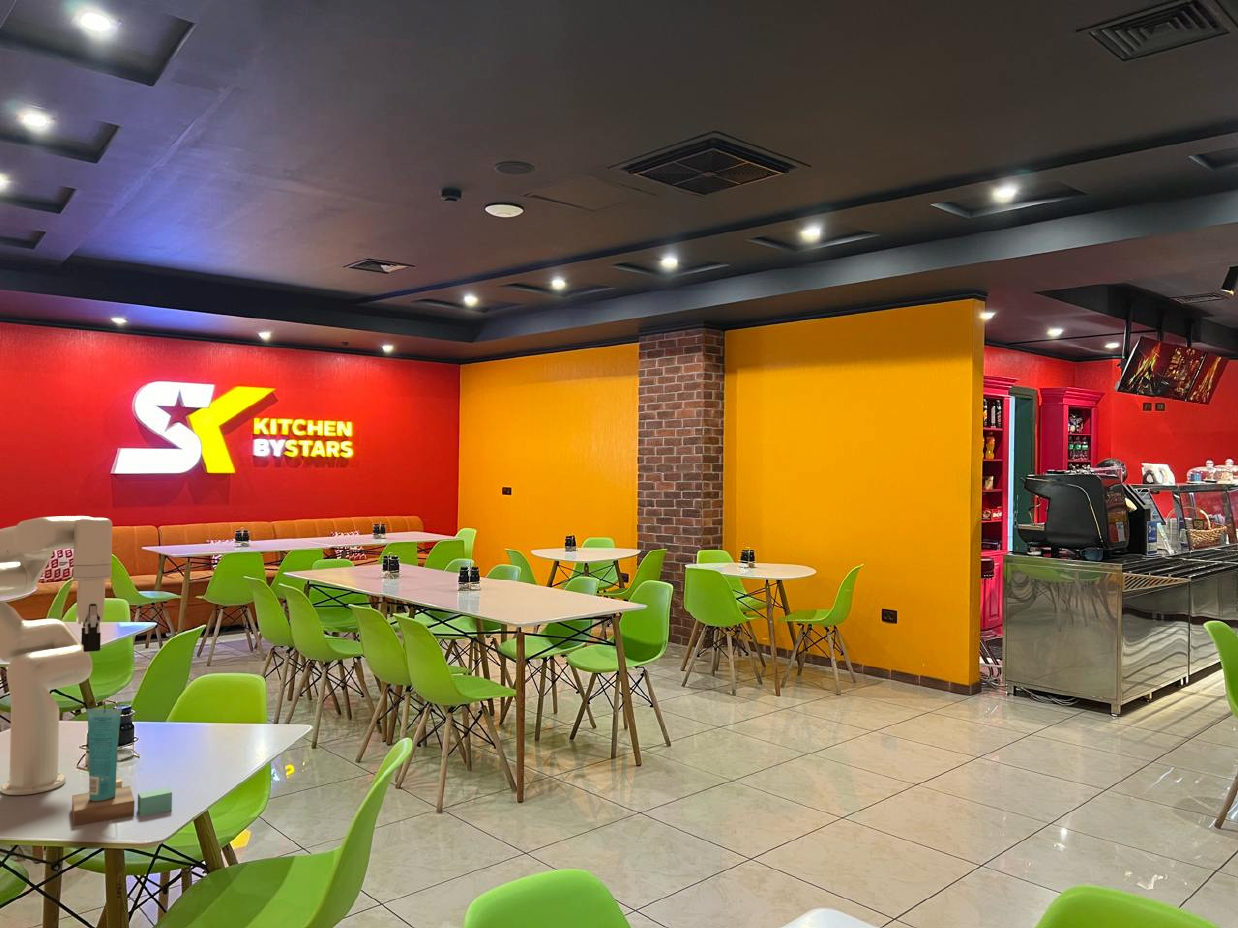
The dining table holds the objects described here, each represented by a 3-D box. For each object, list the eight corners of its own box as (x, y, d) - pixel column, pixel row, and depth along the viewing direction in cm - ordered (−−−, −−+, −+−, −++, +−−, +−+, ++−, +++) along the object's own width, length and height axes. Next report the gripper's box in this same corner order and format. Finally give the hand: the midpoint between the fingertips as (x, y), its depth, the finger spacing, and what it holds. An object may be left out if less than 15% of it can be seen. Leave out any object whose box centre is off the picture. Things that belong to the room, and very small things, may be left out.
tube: (125, 793, 192) (127, 705, 192) (114, 800, 187) (116, 711, 187) (89, 794, 191) (91, 706, 191) (78, 802, 186) (80, 712, 186)
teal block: (140, 816, 186) (141, 798, 186) (137, 811, 189) (137, 792, 190) (171, 810, 190) (172, 792, 190) (167, 805, 193) (168, 787, 193)
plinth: (72, 808, 190) (72, 795, 190) (129, 799, 196) (129, 785, 196) (74, 825, 181) (74, 810, 181) (134, 814, 187) (134, 800, 187)
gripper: (71, 569, 202) (69, 643, 201) (74, 576, 188) (72, 655, 187) (108, 568, 206) (107, 640, 206) (114, 574, 192) (112, 652, 191)
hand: (90, 647), depth 196 cm, fingers open, 9 cm apart
